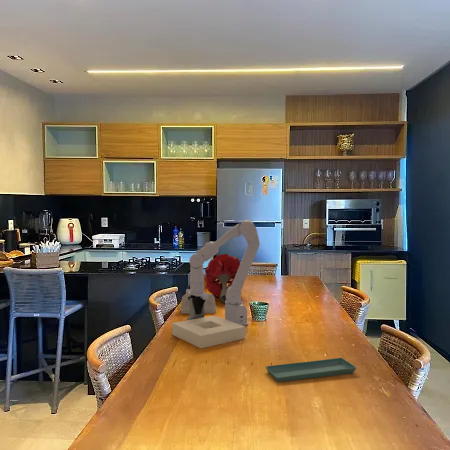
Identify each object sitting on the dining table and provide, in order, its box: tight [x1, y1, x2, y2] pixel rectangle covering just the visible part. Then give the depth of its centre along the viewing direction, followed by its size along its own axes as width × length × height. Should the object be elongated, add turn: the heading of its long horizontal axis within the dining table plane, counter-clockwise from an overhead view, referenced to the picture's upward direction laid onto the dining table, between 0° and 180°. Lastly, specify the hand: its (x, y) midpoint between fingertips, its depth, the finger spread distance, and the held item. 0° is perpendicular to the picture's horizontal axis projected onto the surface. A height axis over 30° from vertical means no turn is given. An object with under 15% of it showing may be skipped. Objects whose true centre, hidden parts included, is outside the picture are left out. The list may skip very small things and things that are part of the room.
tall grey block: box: [186, 297, 205, 321], centre depth 192 cm, size 6×6×10 cm
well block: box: [171, 315, 246, 349], centre depth 172 cm, size 20×20×4 cm
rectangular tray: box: [265, 357, 357, 383], centre depth 137 cm, size 26×9×2 cm, turn 106°
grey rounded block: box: [180, 292, 217, 315], centre depth 211 cm, size 17×5×10 cm, turn 96°
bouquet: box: [204, 253, 241, 304], centre depth 240 cm, size 22×24×30 cm
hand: (196, 313), depth 192 cm, fingers closed on tall grey block, 2 cm apart
